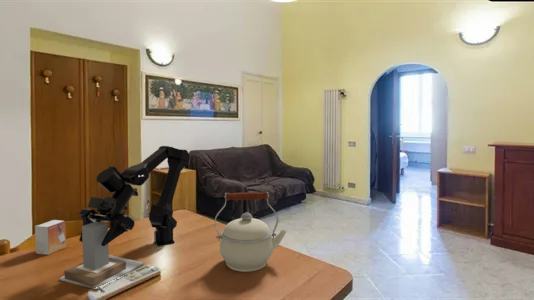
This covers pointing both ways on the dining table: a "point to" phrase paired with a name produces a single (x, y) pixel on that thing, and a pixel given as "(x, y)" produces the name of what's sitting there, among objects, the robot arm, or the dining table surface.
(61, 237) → the small box
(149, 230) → the dining table surface
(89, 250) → the post
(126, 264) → the plinth
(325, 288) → the dining table surface
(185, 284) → the dining table surface
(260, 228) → the kettle
